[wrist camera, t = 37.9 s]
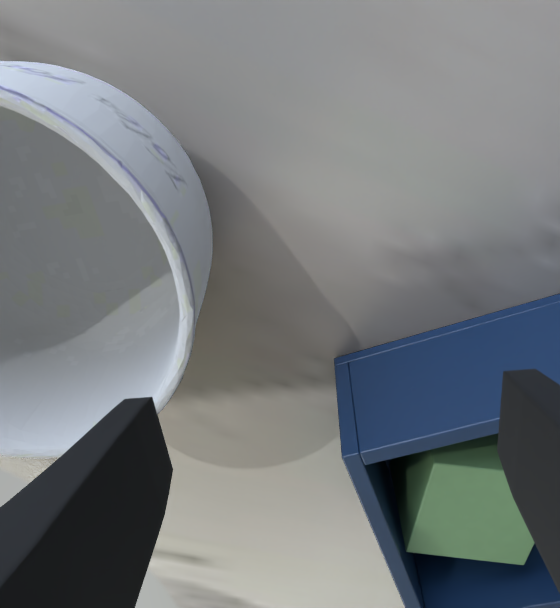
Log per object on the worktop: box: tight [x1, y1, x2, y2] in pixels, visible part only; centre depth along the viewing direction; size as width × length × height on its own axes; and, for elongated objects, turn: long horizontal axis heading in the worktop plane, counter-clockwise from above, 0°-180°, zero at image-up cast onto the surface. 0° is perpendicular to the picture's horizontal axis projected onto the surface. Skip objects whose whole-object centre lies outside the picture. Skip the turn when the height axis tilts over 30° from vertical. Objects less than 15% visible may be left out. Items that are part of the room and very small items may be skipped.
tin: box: [334, 294, 560, 608], centre depth 21 cm, size 12×10×6 cm
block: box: [390, 433, 535, 565], centre depth 21 cm, size 5×5×5 cm
